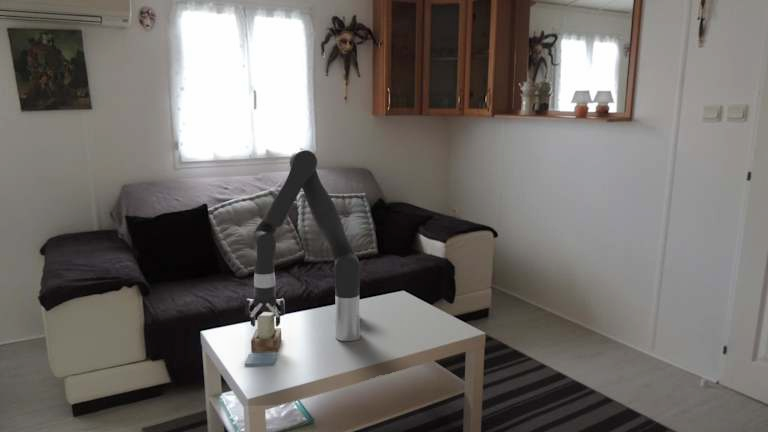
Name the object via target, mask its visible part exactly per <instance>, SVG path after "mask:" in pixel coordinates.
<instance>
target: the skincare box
mask: <svg viewBox="0 0 768 432" xmlns="http://www.w3.org/2000/svg"><path fill="white" fill-rule="evenodd" d="M256 320H257V321H256V322H257V328H258V339H274V336H275V328H276V322H275V314H274V313H272V311H262V313H261V314H259V315H258V316H257V319H256Z"/></svg>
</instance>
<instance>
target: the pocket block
mask: <svg viewBox="0 0 768 432" xmlns="http://www.w3.org/2000/svg"><path fill="white" fill-rule="evenodd" d="M281 341H282V328H281V327H275V336H274V339H258V327H257V328H255V331H254V332H253V335H252V336H251V339H250V349H251V350H250V351H251V352H250V353H278V352H279V349H280V345H281Z"/></svg>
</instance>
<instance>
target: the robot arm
mask: <svg viewBox="0 0 768 432" xmlns="http://www.w3.org/2000/svg"><path fill="white" fill-rule="evenodd" d="M289 166H290V167H289V168H290V169H289V172H288V176H287V178H286V179H285V182H284V183H283V185H282V186H281V188H280V190H279V191H278V193H277V194H276V196H275V197H274V198H273V201H272V202H271V204H270V206H269V208H268V210H267V212H266V213H265V217H264V218H262V220H261V221H260V223H259V224H258V226H257V227H256V228H255V230H254V232H253V234H252V237H251V238H252V239H251V241H252V243H253V245H254V246H255V247H256V257H255V259H254V265H253V267H254V276H253V289H254V290H253V291H254V293H253V294H254V295H253V296H254V298H253V299H252V298H249V297H247V298H246V300H245V307H244V308H245V309H244V311H245V312H244V315H245V316H247V317H249V318H250V325H251V326H252V327H256V314H257V312H259V311H260V312H272V313H274V317H275V328H279V325H280V323H281V317H282V316H283V317H284V315H285V313H286V307H285V306H286V305H285V299H284V297H281V298H279V299H277V296H276V275H275V257H276V256H275V255H276V248H277V241H276V238H275V233H276V232H277V229H279V228H282V226H283V225H284V224H285V222H286V220H287V217H288V216H289V214H290V212H291V210H292V207H293V205H294V203H295V201H296V199H297V197H298V195H299V193H300V192H301V190H303V193H304V197H305V200H306V202H307V204H308V208H309V211H310V213H311V216H312V217H313V218H312V219H313V220H314V223H315V225H316V227H317V229H318V230H319V232H320V234H321V236H322V237H323V238H324V239H325V242H327V244H328V246H329V249H330V251H331V252H330V253H331V254H332V257H333V262H334V281H335V283H334V293H335V294H334V295H335V297H334V299H335V303H334V304H335V309H334V310H335V314H334V315H335V316H334V317H335V331H334V332H335V339H337V340H338V341H341V342H352V341H353V342H354V341H359V340H360V288H361V285H360V284H361V269H360V268H361V265H360V261H359V257H358V256H357V254H356V253H355V251H354V250H353V247H352V246H351V244H350V242H349V241H348V239H347V236H346V232H345V229H344V226H343V223H342V220H341V217H340V214H339V211H338V209H337V207H336V205H335V203H334V201H333V199H332V198H331V196H330V194H329V193H328V191H327V189H326V188H325V187H324V185H323V183H322V182H321V179H320V177H319V174H318V171H317V166H318V159H317V156H316V155H315V153H314V152H313V151H311V150H307V149H300V150H297V151H294V152H293V153H292V154H291V156H290V158H289ZM252 304H253V305H255V307H254V309H253V310H252V311H250V310H251V306H252ZM276 304H278V306H279V307H280V311H279V310H278V307H277V306H276Z"/></svg>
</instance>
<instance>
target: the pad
mask: <svg viewBox="0 0 768 432" xmlns="http://www.w3.org/2000/svg"><path fill="white" fill-rule="evenodd" d="M277 357H278V352H254V353H247V357H246V360H245V362H244V367H273V366H275V364H276V361H277Z"/></svg>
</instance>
